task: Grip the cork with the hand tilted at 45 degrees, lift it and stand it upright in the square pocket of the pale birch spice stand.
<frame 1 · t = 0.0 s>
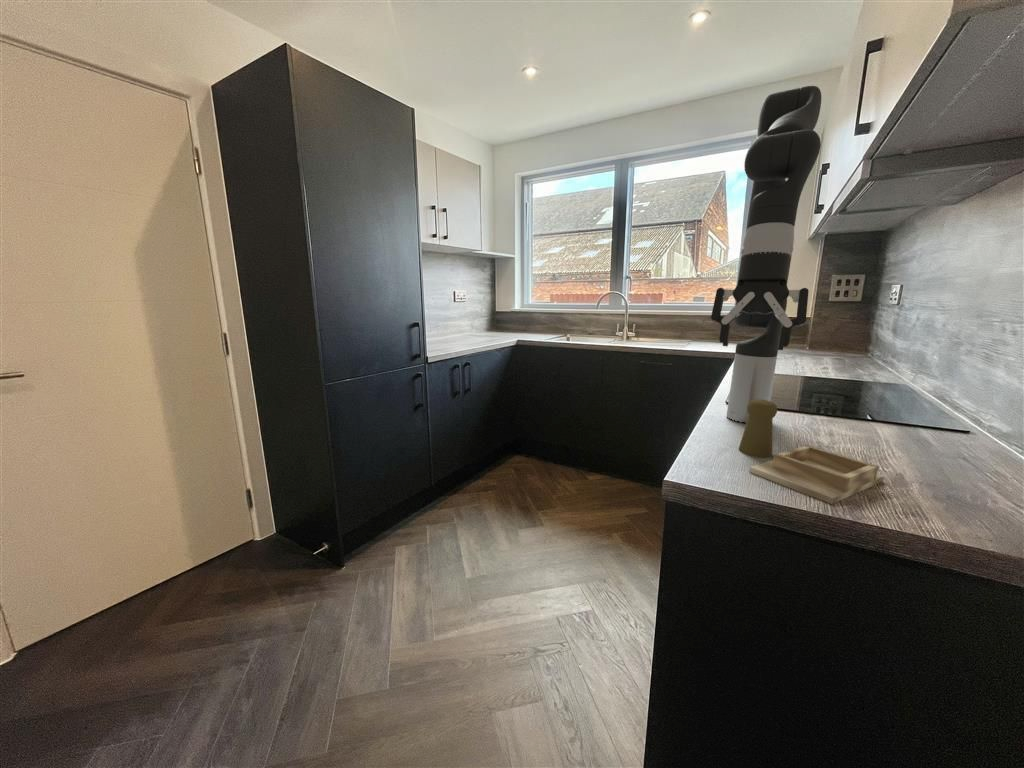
hand: (751, 348, 72), 22 cm above the worktop, tool pointing down, fingers open, 8 cm apart
spice stand: (815, 476, 72), on the worktop
cork: (754, 452, 83), on the worktop
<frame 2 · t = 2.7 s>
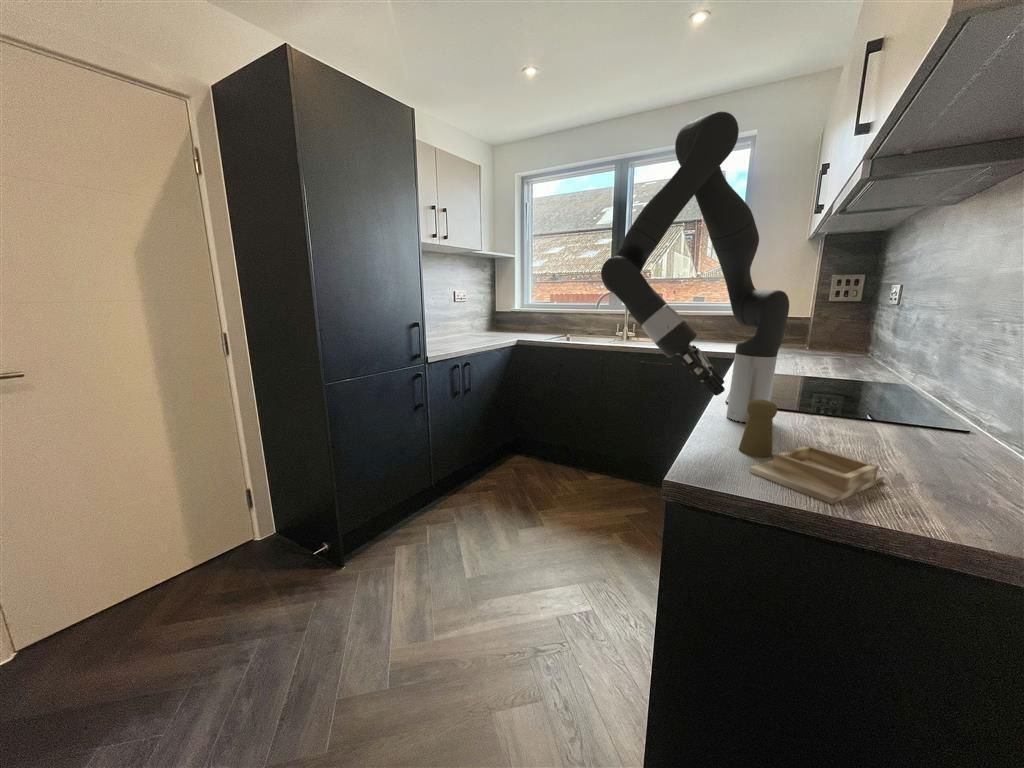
hand: (720, 388, 84), 12 cm above the worktop, tool tilted 45°, fingers open, 8 cm apart
nothing on the worktop moved.
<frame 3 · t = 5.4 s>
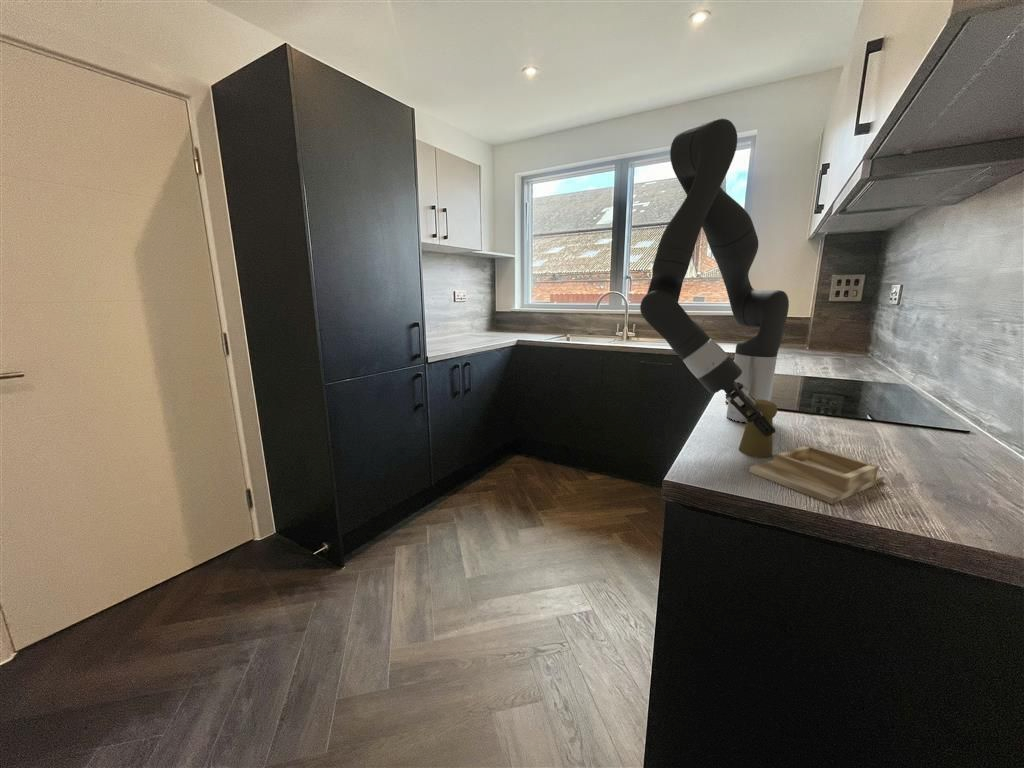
hand: (769, 429, 81), 5 cm above the worktop, tool tilted 45°, fingers closed on cork, 5 cm apart
cork: (755, 452, 83), on the worktop, touching gripper
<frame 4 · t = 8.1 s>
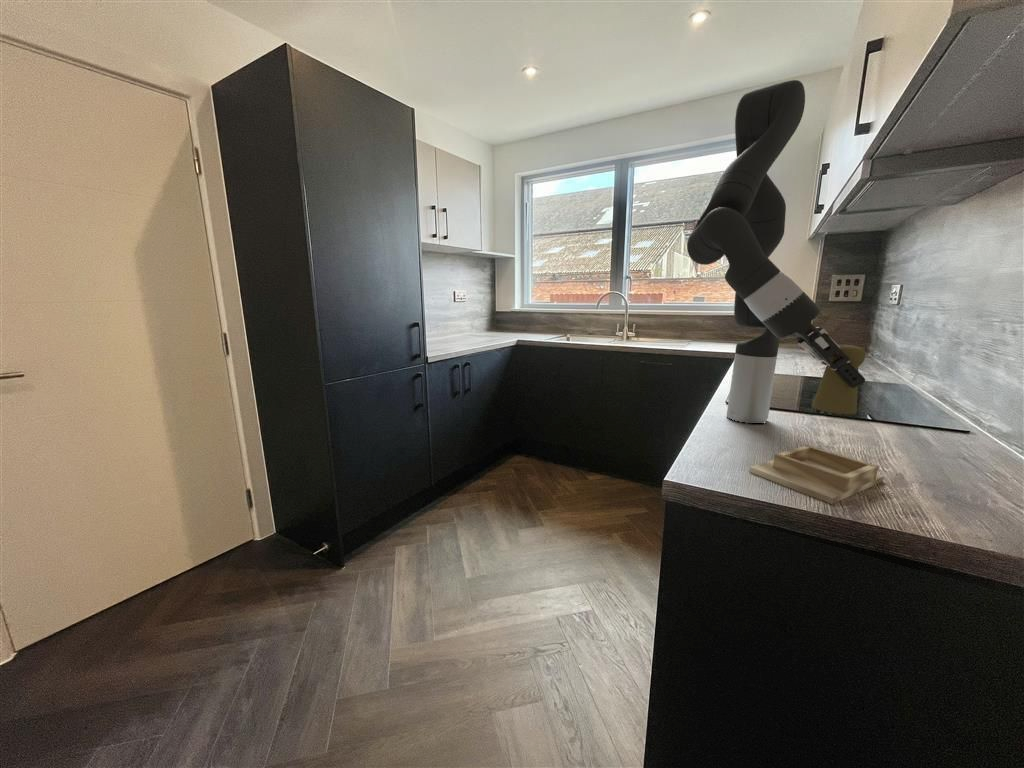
hand: (853, 381, 67), 18 cm above the worktop, tool tilted 45°, fingers closed on cork, 5 cm apart
cork: (833, 410, 68), point 13 cm above the worktop, touching gripper
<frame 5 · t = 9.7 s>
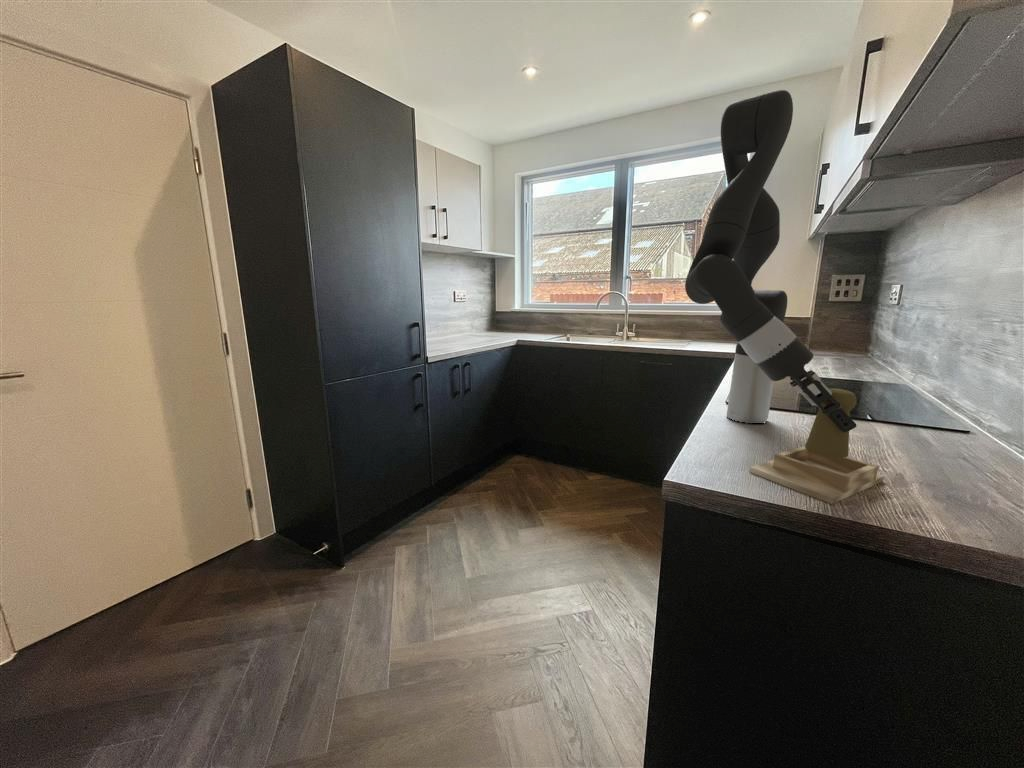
hand: (845, 424, 68), 10 cm above the worktop, tool tilted 45°, fingers closed on cork, 5 cm apart
cork: (825, 452, 70), point 5 cm above the worktop, touching gripper
when the fingers open (7 cm above the worktop, at t = 11.0 s): cork stays where it is, resting on spice stand.
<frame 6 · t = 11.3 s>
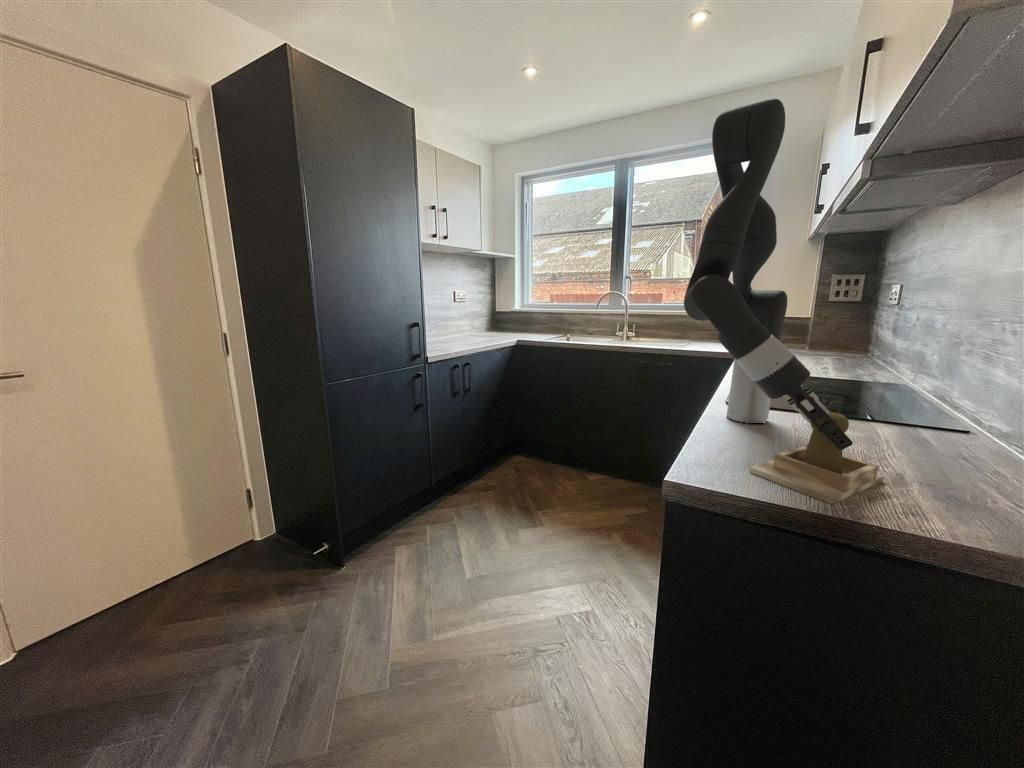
hand: (839, 439, 69), 8 cm above the worktop, tool tilted 45°, fingers open, 7 cm apart
cork: (820, 474, 71), point 1 cm above the worktop, touching spice stand
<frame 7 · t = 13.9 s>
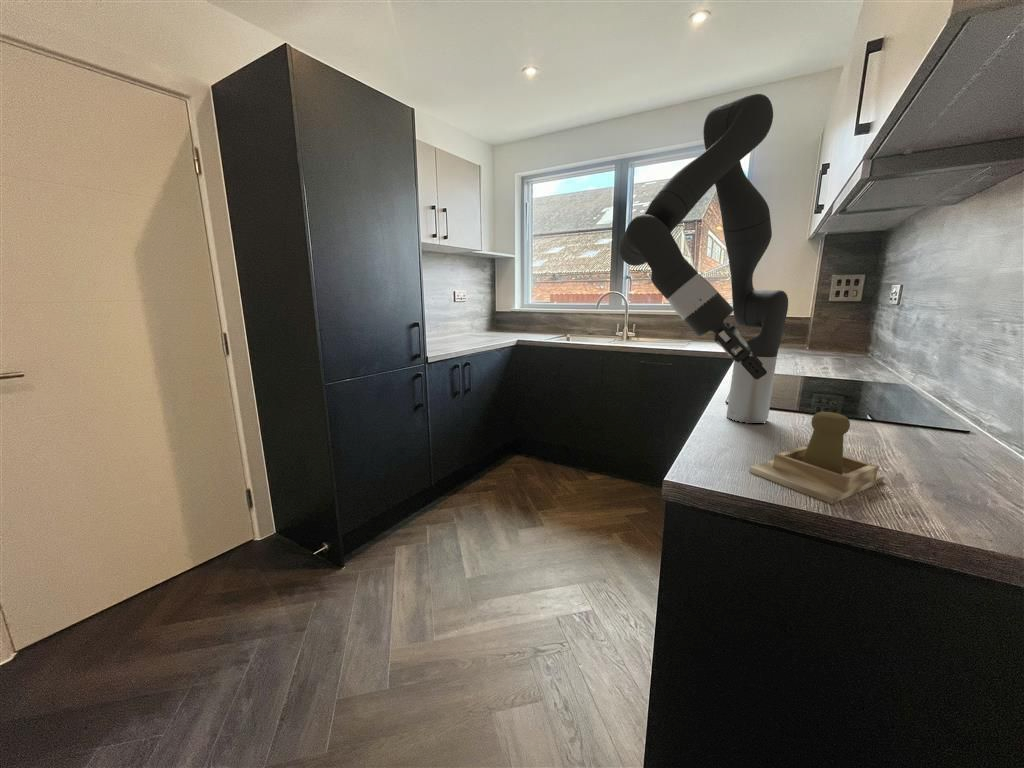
hand: (759, 372, 73), 18 cm above the worktop, tool tilted 45°, fingers open, 8 cm apart
nothing on the worktop moved.
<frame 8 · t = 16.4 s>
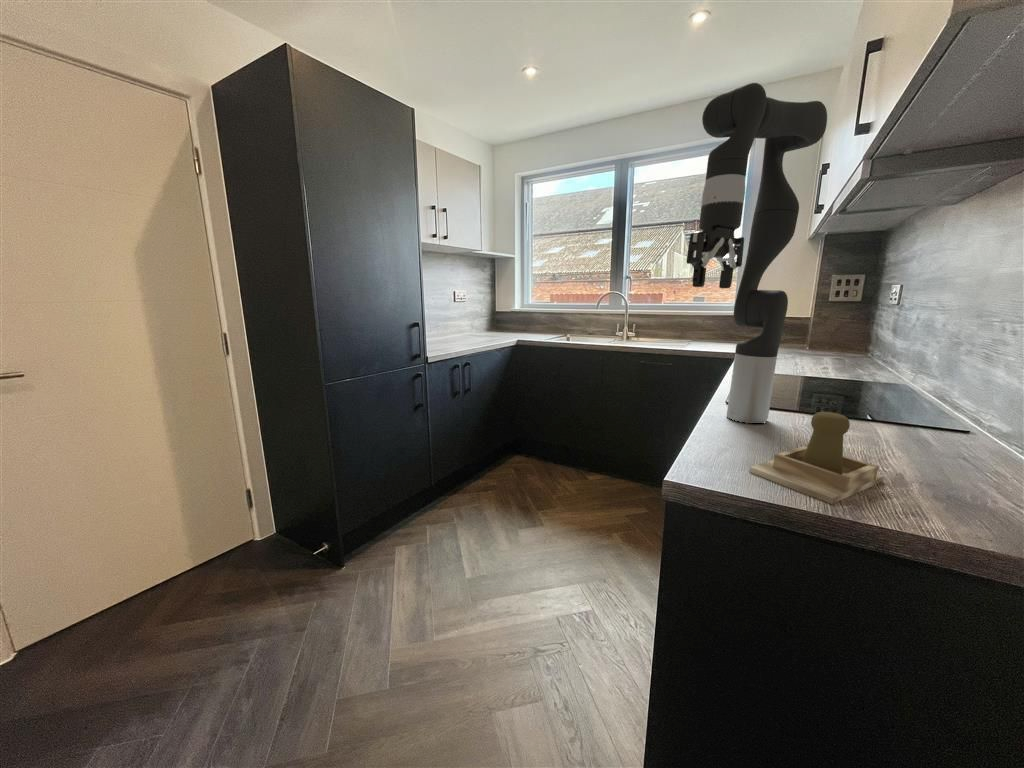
hand: (711, 287, 83), 33 cm above the worktop, tool pointing down, fingers open, 8 cm apart
nothing on the worktop moved.
at the end: cork 0.4 cm from the target spot on the spice stand, point 0.8 cm above the spice stand's base; cork tilted 0°; the gripper is holding nothing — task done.
